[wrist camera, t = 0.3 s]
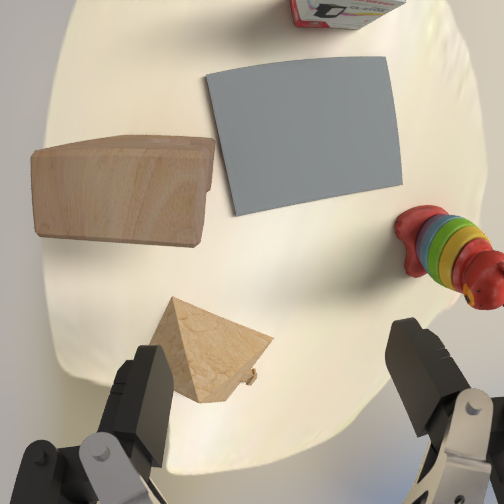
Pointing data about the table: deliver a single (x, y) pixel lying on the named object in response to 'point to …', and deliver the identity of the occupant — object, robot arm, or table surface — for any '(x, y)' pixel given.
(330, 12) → the ink box
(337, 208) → the table surface
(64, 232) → the decorative block
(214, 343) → the model pyramid
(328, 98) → the mat
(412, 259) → the stacking bear
